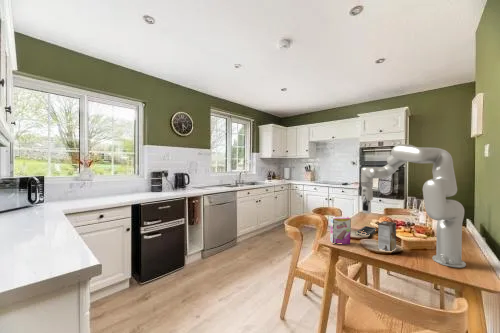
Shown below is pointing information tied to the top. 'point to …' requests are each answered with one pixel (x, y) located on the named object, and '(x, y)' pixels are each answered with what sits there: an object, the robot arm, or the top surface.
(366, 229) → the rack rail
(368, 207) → the nut block
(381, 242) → the coffee box
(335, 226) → the candy bar box
